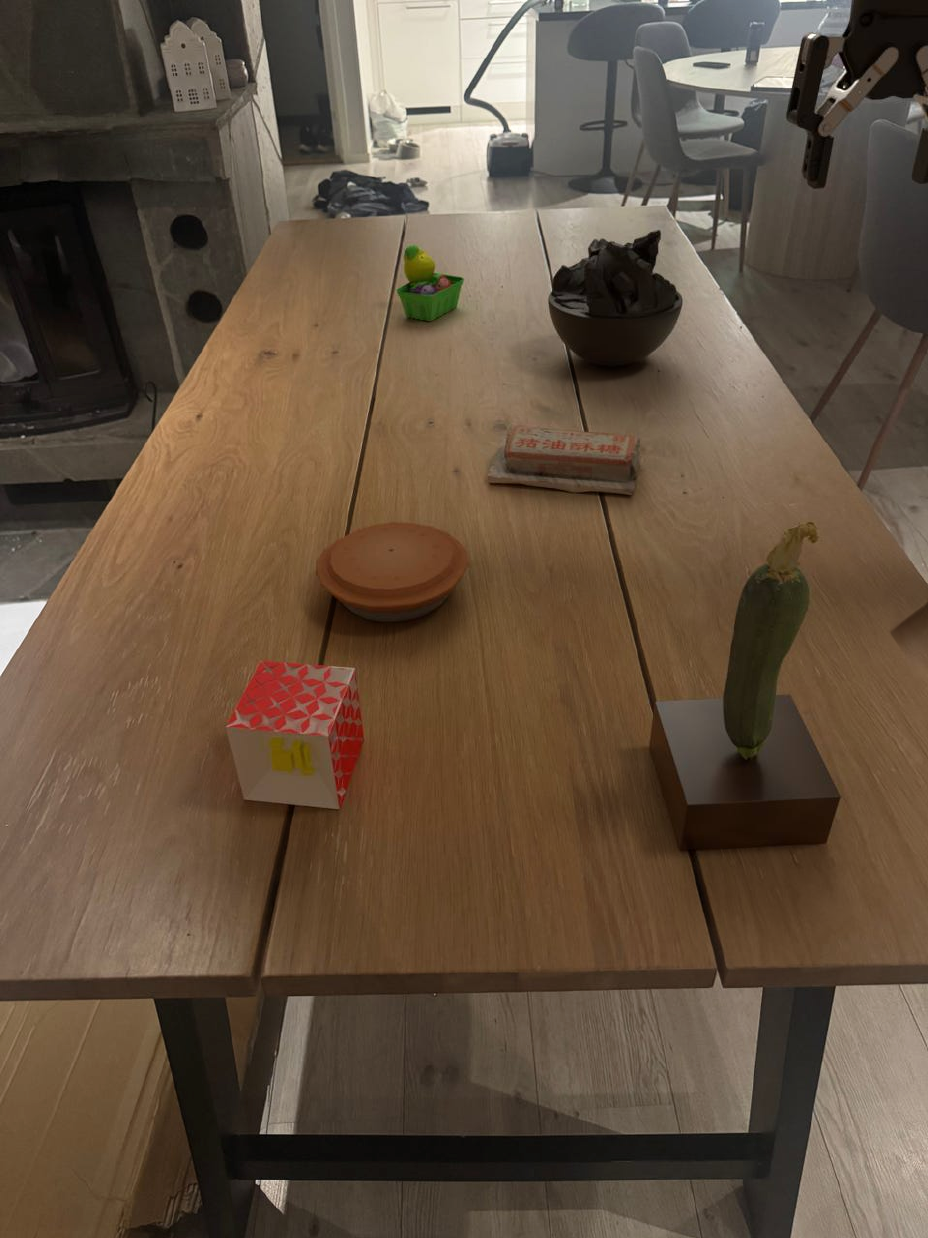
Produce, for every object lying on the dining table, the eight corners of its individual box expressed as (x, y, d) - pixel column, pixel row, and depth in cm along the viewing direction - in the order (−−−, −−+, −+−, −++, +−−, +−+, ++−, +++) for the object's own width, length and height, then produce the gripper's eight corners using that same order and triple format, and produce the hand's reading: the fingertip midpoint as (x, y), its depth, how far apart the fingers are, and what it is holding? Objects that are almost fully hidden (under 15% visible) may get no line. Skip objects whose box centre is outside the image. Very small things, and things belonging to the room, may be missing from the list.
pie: (500, 588, 96) (500, 548, 93) (386, 657, 88) (382, 614, 85) (402, 535, 105) (399, 496, 102) (290, 592, 97) (283, 552, 94)
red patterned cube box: (243, 799, 74) (225, 727, 69) (275, 731, 80) (260, 660, 75) (340, 809, 73) (329, 736, 68) (365, 739, 79) (355, 668, 74)
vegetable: (701, 743, 70) (741, 514, 58) (737, 717, 72) (782, 491, 61) (750, 775, 68) (802, 542, 56) (785, 747, 70) (842, 517, 58)
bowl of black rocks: (554, 389, 137) (558, 257, 126) (540, 340, 153) (543, 220, 142) (688, 383, 137) (704, 252, 126) (661, 336, 153) (673, 215, 142)
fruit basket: (432, 325, 160) (429, 258, 154) (390, 317, 164) (385, 251, 158) (466, 306, 168) (465, 241, 161) (426, 299, 172) (422, 235, 165)
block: (779, 738, 77) (790, 694, 74) (827, 843, 69) (841, 796, 66) (648, 746, 77) (654, 701, 74) (679, 851, 68) (687, 805, 65)
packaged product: (644, 425, 115) (637, 462, 108) (641, 460, 118) (633, 498, 110) (503, 414, 119) (486, 449, 111) (503, 448, 122) (486, 484, 114)
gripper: (840, -65, 61) (796, 199, 70) (1053, -74, 61) (980, 190, 71) (801, -66, 67) (764, 178, 77) (995, -74, 67) (934, 170, 77)
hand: (868, 184), depth 74 cm, fingers open, 8 cm apart
